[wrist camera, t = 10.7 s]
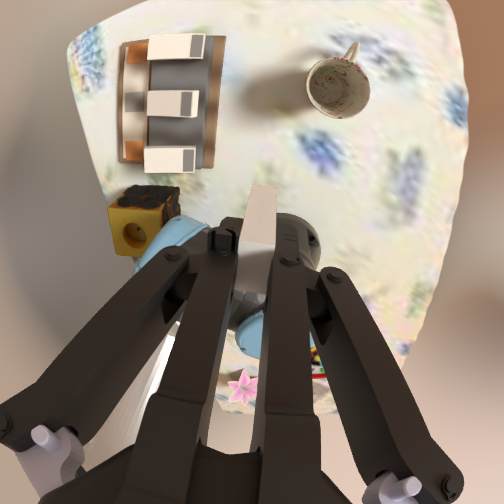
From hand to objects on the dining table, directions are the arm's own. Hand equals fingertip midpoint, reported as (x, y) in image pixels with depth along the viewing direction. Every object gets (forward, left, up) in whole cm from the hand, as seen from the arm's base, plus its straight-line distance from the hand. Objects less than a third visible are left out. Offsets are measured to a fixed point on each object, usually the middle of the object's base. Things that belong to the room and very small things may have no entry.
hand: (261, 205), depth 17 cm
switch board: (+4, +18, -29) cm, 35 cm away
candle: (-17, +20, -30) cm, 40 cm away
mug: (+11, -8, -30) cm, 33 cm away
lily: (-73, -3, -30) cm, 79 cm away
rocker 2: (-5, +15, -25) cm, 30 cm away
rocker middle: (+4, +15, -25) cm, 30 cm away
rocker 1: (+13, +15, -25) cm, 32 cm away
